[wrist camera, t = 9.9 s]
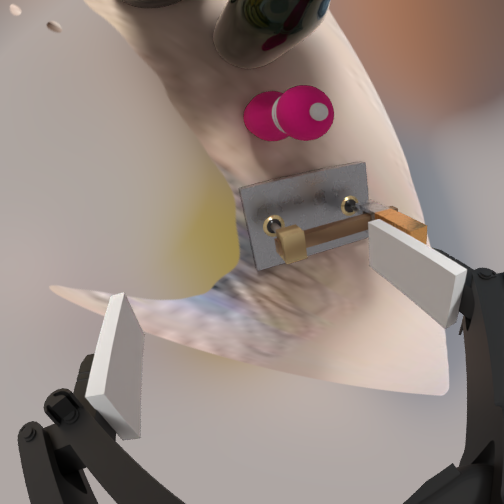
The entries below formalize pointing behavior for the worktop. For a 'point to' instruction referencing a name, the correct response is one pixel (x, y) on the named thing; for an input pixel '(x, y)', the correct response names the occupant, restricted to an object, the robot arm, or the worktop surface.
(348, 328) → the worktop surface
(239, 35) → the beer bottle
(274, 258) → the bolt plate
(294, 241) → the wooden rod with block
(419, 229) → the block
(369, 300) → the worktop surface
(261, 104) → the pepper mill
